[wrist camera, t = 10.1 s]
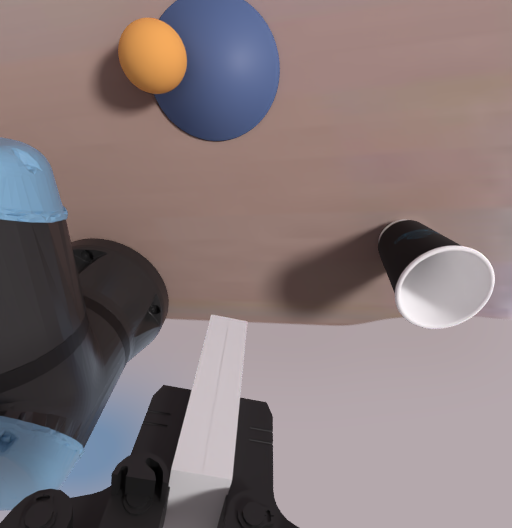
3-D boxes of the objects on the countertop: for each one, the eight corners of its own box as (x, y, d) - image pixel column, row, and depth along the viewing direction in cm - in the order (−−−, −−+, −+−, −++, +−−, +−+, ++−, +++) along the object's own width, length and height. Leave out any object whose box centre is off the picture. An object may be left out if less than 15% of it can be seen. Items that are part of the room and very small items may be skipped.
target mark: (216, 166, 36) (215, 166, 36) (121, 69, 33) (120, 69, 32) (306, 74, 32) (307, 73, 32) (210, -48, 29) (210, -49, 29)
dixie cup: (404, 189, 37) (455, 227, 27) (452, 236, 39) (515, 286, 29) (348, 243, 40) (375, 295, 30) (396, 284, 42) (436, 344, 32)
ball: (117, 100, 29) (149, 99, 34) (178, 86, 28) (202, 87, 32) (94, 21, 27) (131, 32, 32) (158, 2, 26) (187, 16, 30)
